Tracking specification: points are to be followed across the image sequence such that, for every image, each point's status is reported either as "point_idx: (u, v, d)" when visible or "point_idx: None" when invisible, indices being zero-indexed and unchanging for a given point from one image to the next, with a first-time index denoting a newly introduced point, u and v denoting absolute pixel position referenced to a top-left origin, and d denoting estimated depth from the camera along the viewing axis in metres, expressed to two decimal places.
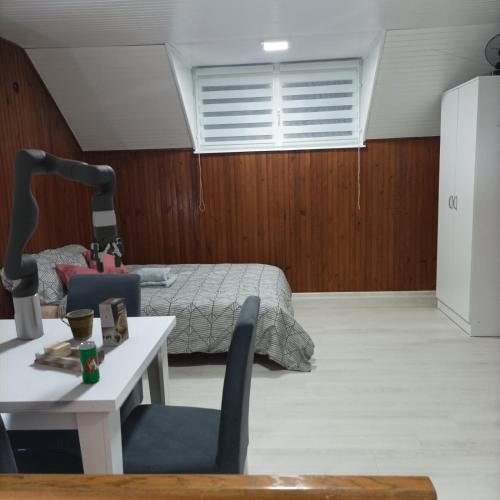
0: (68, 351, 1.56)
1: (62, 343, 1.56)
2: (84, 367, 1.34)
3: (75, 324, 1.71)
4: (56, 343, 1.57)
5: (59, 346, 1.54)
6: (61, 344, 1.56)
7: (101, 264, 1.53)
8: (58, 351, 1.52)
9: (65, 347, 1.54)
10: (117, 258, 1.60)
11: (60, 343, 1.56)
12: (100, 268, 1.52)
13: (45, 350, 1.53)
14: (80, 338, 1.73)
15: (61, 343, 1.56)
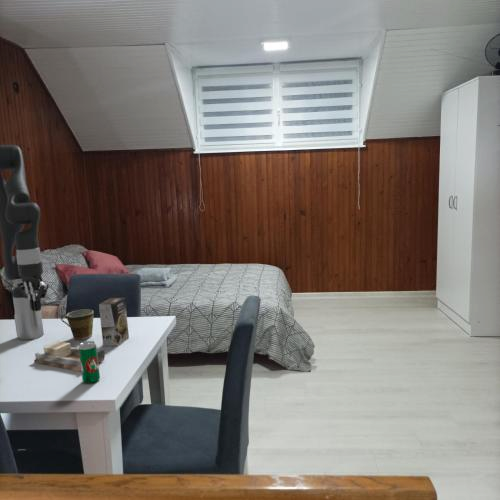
0: (68, 351, 1.56)
1: (62, 343, 1.56)
2: (84, 367, 1.34)
3: (75, 324, 1.71)
4: (56, 343, 1.57)
5: (59, 346, 1.54)
6: (61, 344, 1.56)
7: None
8: (58, 351, 1.52)
9: (65, 347, 1.54)
10: None
11: (60, 343, 1.56)
12: None
13: (45, 350, 1.53)
14: (80, 338, 1.73)
15: (61, 343, 1.56)
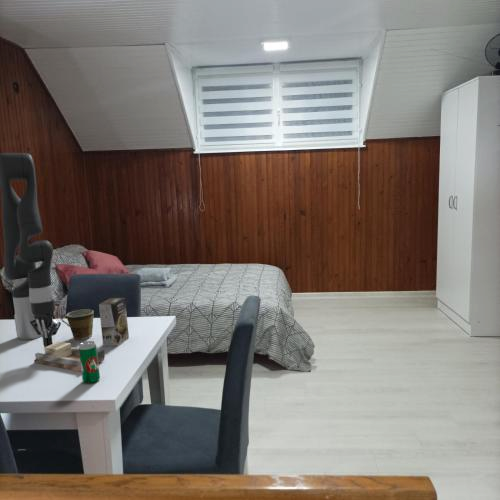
0: (69, 351, 1.55)
1: (63, 343, 1.56)
2: (84, 367, 1.34)
3: (75, 324, 1.71)
4: (57, 343, 1.57)
5: (60, 346, 1.53)
6: (62, 344, 1.55)
7: None
8: (59, 351, 1.52)
9: (66, 347, 1.54)
10: None
11: (61, 343, 1.56)
12: None
13: (46, 350, 1.53)
14: (80, 338, 1.73)
15: (62, 343, 1.56)
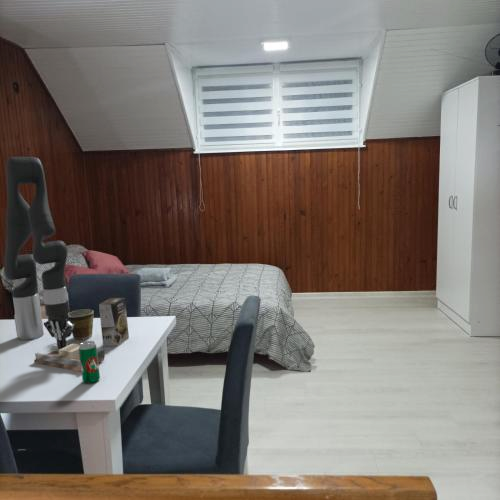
0: None
1: (77, 345, 1.53)
2: (84, 367, 1.34)
3: (75, 324, 1.71)
4: (71, 345, 1.54)
5: (74, 348, 1.51)
6: (76, 346, 1.53)
7: None
8: (73, 353, 1.49)
9: None
10: None
11: (75, 346, 1.53)
12: None
13: (60, 352, 1.50)
14: (80, 338, 1.73)
15: (76, 345, 1.53)
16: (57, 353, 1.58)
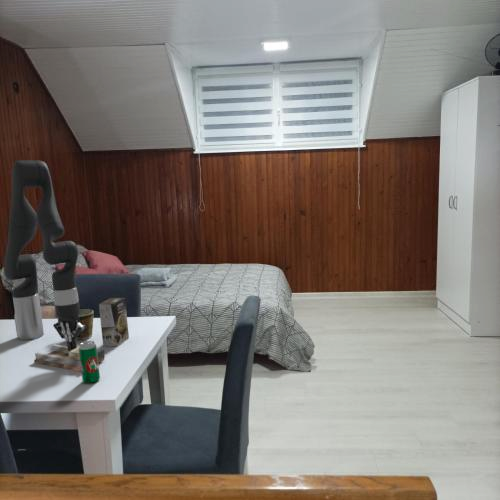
0: None
1: None
2: (84, 367, 1.34)
3: None
4: None
5: None
6: None
7: None
8: None
9: None
10: None
11: None
12: None
13: (70, 354, 1.48)
14: (80, 338, 1.73)
15: None
16: (57, 353, 1.58)
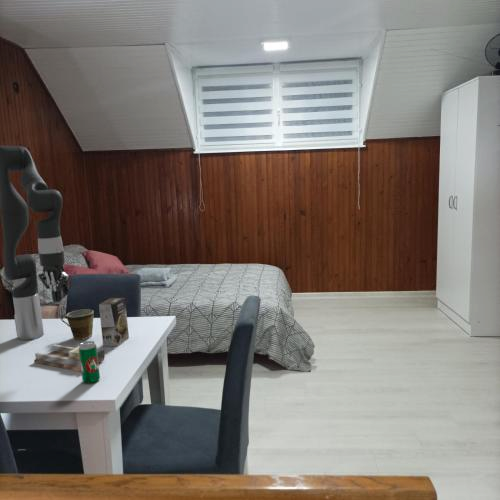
0: None
1: None
2: (84, 367, 1.34)
3: (75, 324, 1.71)
4: None
5: None
6: None
7: None
8: None
9: None
10: None
11: None
12: None
13: (70, 354, 1.48)
14: (80, 338, 1.73)
15: None
16: (57, 353, 1.58)
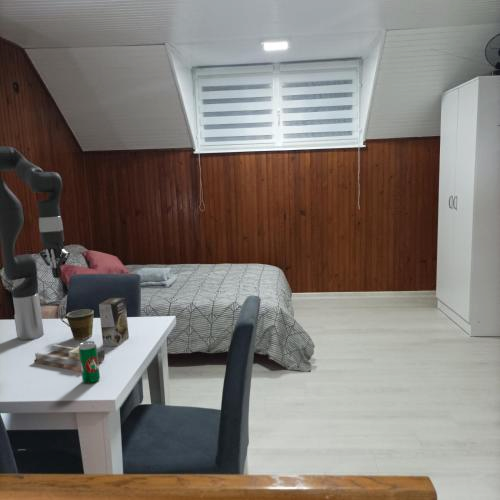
0: None
1: None
2: (84, 367, 1.34)
3: (75, 324, 1.71)
4: None
5: None
6: None
7: None
8: None
9: None
10: None
11: None
12: None
13: (70, 354, 1.48)
14: (80, 338, 1.73)
15: None
16: (57, 353, 1.58)
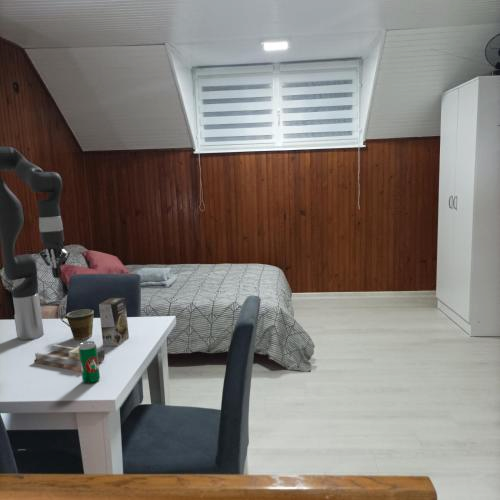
0: None
1: None
2: (84, 367, 1.34)
3: (75, 324, 1.71)
4: None
5: None
6: None
7: None
8: None
9: None
10: None
11: None
12: None
13: (70, 354, 1.48)
14: (80, 338, 1.73)
15: None
16: (57, 353, 1.58)
